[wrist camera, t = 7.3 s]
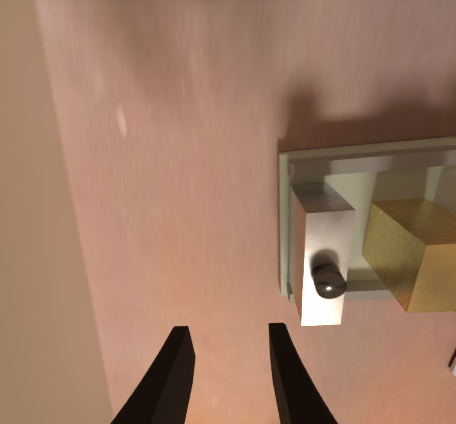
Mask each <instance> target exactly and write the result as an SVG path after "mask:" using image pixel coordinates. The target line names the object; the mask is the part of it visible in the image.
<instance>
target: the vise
mask: <svg viewBox="0 0 456 424" xmlns="http://www.w3.org/2000/svg"><path fill="white" fill-rule="evenodd" d="M322 182H327V183H328V184H329V185H330V186H331V187H332V188H333V189H334V190H335V191H337V192H338V193H339V194H340V195H341V196H342V197H343V198H344V199H345V200H346V201H347V202H348V203H349V204H350V205H351V206H352V207H353V208H354V209H355V210H356V213H355V220H354V228H353V235H352V242H351V250H350V257H349V264H348V272H347V279H346V283H347V289H346V291H345V294H344V301H347V300H371V299H396V298H395V297H394V296H393V294H392V293H391V292H390V291H389V289H388V288H387V287H386V286H385V284H384V283H383V282H382V280H381V279H380V278H379V277H378V275H377V274H376V273H375V271H374V270H373V269H372V268H371V266H370V265H369V264H368V263H367V261H366V260H365V259H364V257H363V256H362V251H363V245H364V239H365V233H366V227H367V221H368V214H369V208H370V202H372V201H385V200H399V199H413V198H426V199H428V200H430V201H432V202H433V203H435V204H437V205H439V206H441V207H443V208H445V209H446V210H448V211H450V212H452V213H454V214H456V136H452V137H441V138H430V139H419V140H409V141H398V142H387V143H376V144H365V145H354V146H343V147H332V148H321V149H310V150H300V151H289V152H278V197H279V275H280V293H281V295H288V298H289V302H290V303H295V299H294V295H293V292H292V288H291V285H290V281H289V218H290V185H297V184H310V183H322ZM455 312H456V311H455Z"/></svg>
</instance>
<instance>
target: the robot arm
mask: <svg viewBox="0 0 456 424" xmlns="http://www.w3.org/2000/svg"><path fill="white" fill-rule="evenodd" d="M269 344H270V360H271V370H272V379H273V386H274V391H275V396H276V402H277V407H278V412H279V417H280V423H281V424H338V423H337V422H336V420H335V418H334V417H333V415H332V414H331V412H330V410H329V409H328V407H327V406H326V404H325V402H324V401H323V399H322V397H321V396H320V394H319V392H318V391H317V389H316V387H315V385H314V384H313V382H312V380H311V378H310V376H309V374H308V373H307V371H306V369H305V367H304V365H303V363H302V361H301V359H300V357H299V355H298V353H297V351H296V349H295V347H294V345H293V342H292V340H291V338H290V335H289V333H288V330H287V327H286V325H285V324H284V323H269ZM195 357H196V356H195V352H194V348H193V344H192V340H191V336H190V332H189V327H188V326H175V327H174V328H173V329H172V331H171V332H170V334H169V336H168V338H167V339H166V341H165V343H164V345H163V346H162V348H161V350H160V351H159V353H158V355H157V356H156V358H155V360H154V361H153V363H152V364H151V366H150V368H149V369H148V371H147V372H146V374H145V375H144V377H143V379H142V380H141V382H140V383H139V385H138V386H137V387H136V389H135V390H134V392H133V393H132V395H131V396H130V398H129V399H128V400H127V402H126V403H125V405H124V406H123V407H122V409H121V410H120V411H119V413H118V414H117V416H116V417H115V418H114V420H113V421H112V422H111V424H184V423H185V418H186V413H187V409H188V404H189V399H190V394H191V389H192V384H193V376H194V366H195ZM450 372H451V373H452V374H453V375H456V356H455V359H454V361H453V363H452V365H451V367H450Z"/></svg>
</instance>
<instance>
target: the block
mask: <svg viewBox="0 0 456 424" xmlns="http://www.w3.org/2000/svg"><path fill="white" fill-rule="evenodd" d="M362 256H363V257H364V259H365V260H366V261H367V263H368V264H369V265H370V266H371V268H372V269H373V270H374V271H375V273H376V274H377V275H378V277H379V278H380V279H381V280H382V282H383V283H384V284H385V286H386V287H387V288H388V289H389V291H390V292H391V293H392V294H393V296H394V297H395V298H396V300H397V301H398V302H399V303H400V305H401V306H402V307H403V309H404V310H405V311H406V312H407V313H417V312H445V311H456V214H454V213H452V212H450V211H448V210H446V209H445V208H443V207H441V206H439V205H437V204H435V203H433V202H432V201H430V200H428V199H426V198H413V199H399V200H385V201H372V202H370V208H369V214H368V221H367V227H366V233H365V239H364V245H363V251H362Z"/></svg>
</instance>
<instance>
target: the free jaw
mask: <svg viewBox="0 0 456 424" xmlns="http://www.w3.org/2000/svg"><path fill="white" fill-rule="evenodd" d="M355 213H356V210H355V209H354V208H353V207H352V206H351V205H350V204H349V203H348V202H347V201H346V200H345V199H344V198H343V197H342V196H341V195H340V194H339V193H338V192H337V191H335V190H334V189H333V188H332V187H331V186H330V185H329V184H328V183H327V182H322V183H310V184H297V185H290V218H289V281H290V285H291V288H292V292H293V295H294V299H295V303H296V306H297V310H298V314H299V317H300V321H301V325H333V324H340V323H341V316H342V308H343V301H344V294H345V291H346V289H347V283H346V279H347V272H348V264H349V257H350V250H351V242H352V235H353V228H354V220H355Z"/></svg>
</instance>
